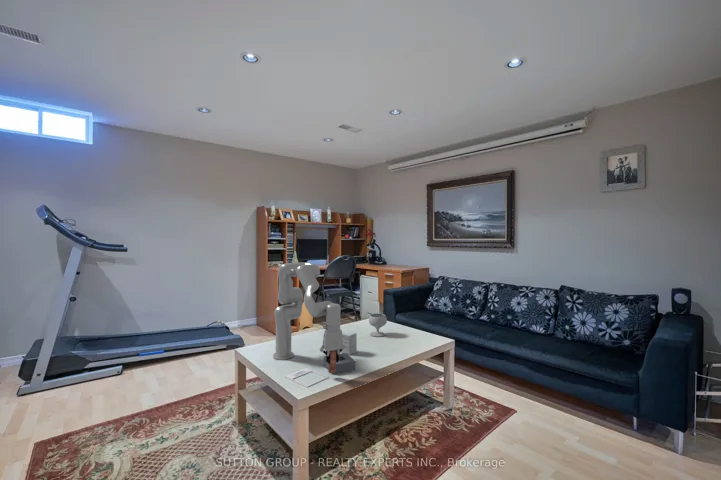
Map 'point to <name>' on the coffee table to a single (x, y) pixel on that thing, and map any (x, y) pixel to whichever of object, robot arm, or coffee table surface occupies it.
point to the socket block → (342, 363)
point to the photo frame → (303, 372)
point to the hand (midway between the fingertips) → (332, 361)
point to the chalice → (377, 323)
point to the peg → (332, 362)
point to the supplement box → (349, 342)
